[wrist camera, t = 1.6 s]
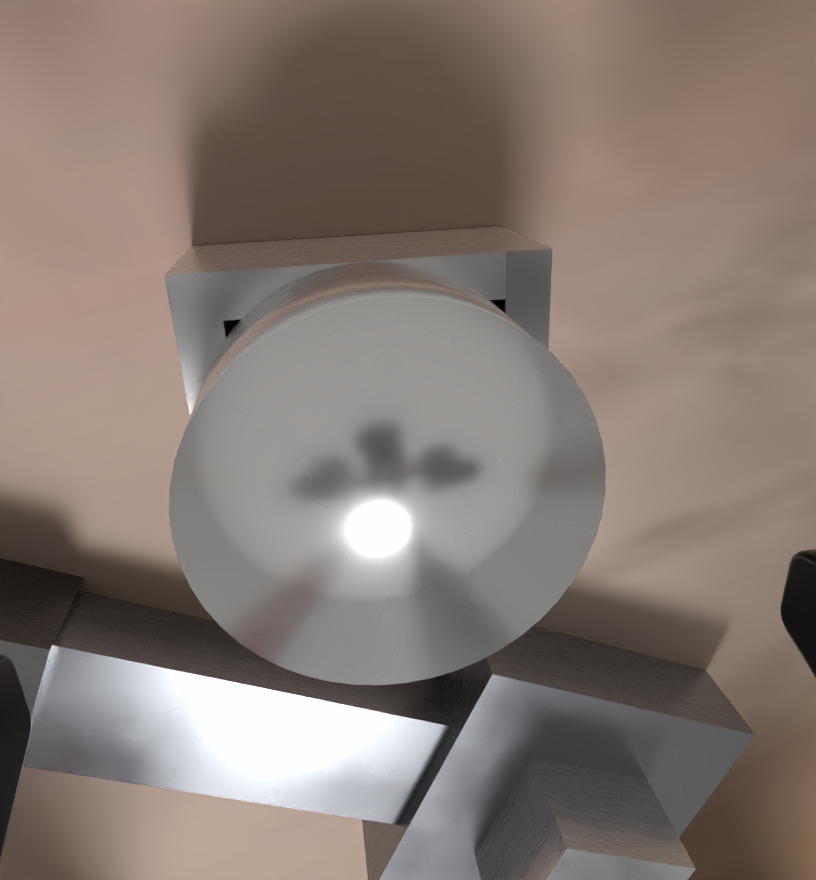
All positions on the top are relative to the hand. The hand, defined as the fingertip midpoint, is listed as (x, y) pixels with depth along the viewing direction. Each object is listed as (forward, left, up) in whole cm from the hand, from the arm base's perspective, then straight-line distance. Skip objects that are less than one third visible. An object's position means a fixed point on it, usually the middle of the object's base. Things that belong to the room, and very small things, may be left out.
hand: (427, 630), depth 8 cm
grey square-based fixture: (0, 0, -8) cm, 9 cm away
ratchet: (-1, +9, -9) cm, 12 cm away
